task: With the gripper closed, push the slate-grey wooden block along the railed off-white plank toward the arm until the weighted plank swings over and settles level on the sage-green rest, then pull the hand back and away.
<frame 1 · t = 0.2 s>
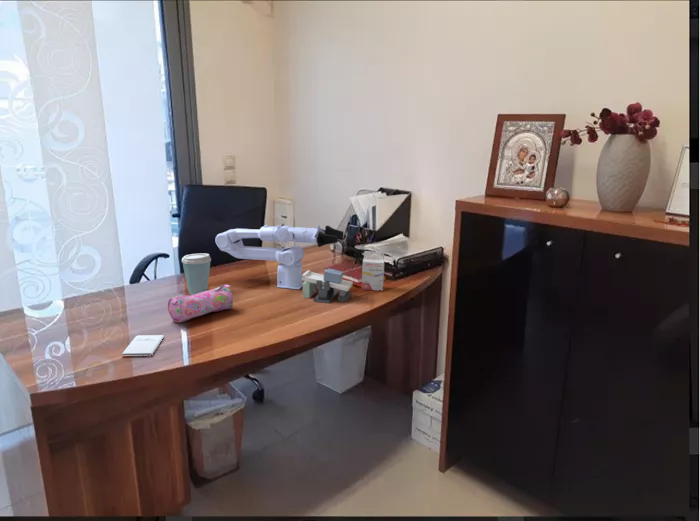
hand: (340, 237, 189), 22 cm above the table, tool horizontal, fingers open, 7 cm apart
ink cartridge box: (372, 288, 198), on the table
disposable coffee cup: (198, 293, 189), on the table
level rest: (309, 294, 190), on the table
pencil case: (203, 315, 168), on the table
tip stop: (344, 298, 186), on the table
stand: (326, 296, 188), on the table
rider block: (332, 281, 186), point 6 cm above the table, tilted 8°, touching plank
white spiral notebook: (144, 349, 144), on the table
plank: (326, 284, 187), point 5 cm above the table, tilted 8°, touching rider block, stand, tip stop
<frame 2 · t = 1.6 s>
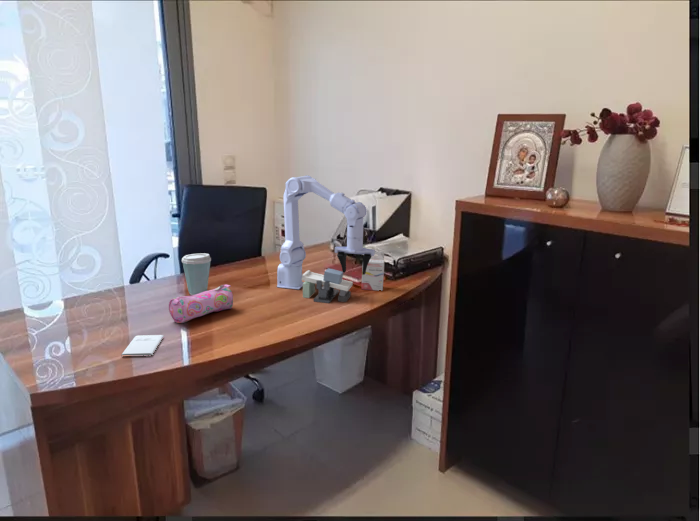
hand: (354, 272, 183), 10 cm above the table, tool pointing down, fingers open, 7 cm apart
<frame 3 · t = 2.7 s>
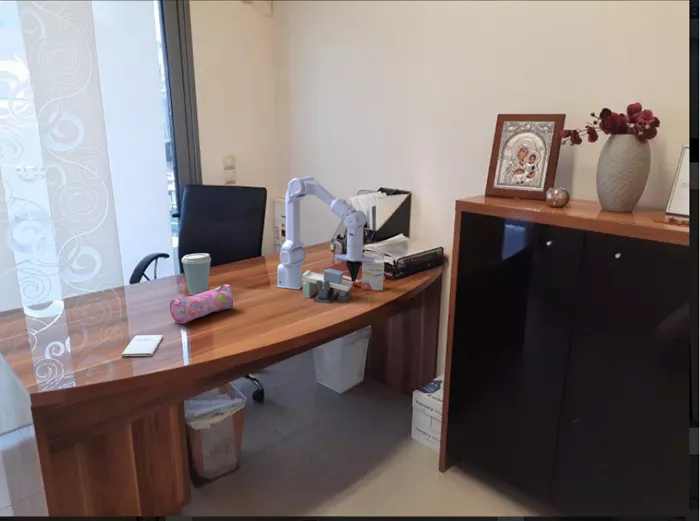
hand: (353, 280, 183), 7 cm above the table, tool pointing down, fingers closed
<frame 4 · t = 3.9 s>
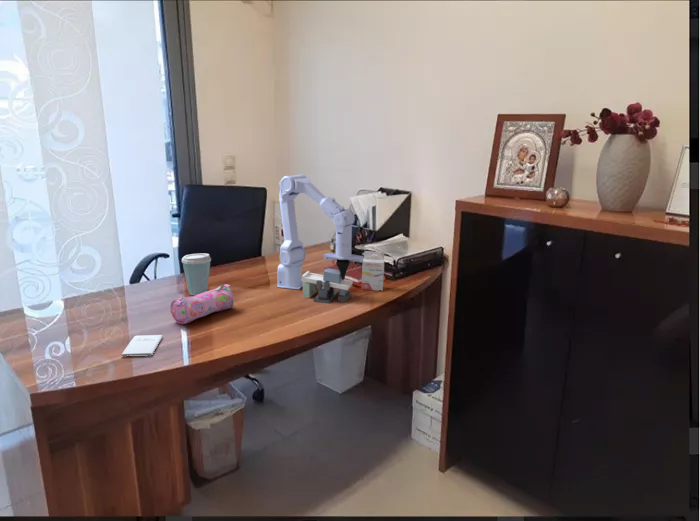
hand: (343, 279, 184), 8 cm above the table, tool pointing down, fingers closed, pressing on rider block
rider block: (332, 281, 186), point 6 cm above the table, tilted 6°, touching gripper, plank
plank: (326, 284, 187), point 5 cm above the table, tilted 6°, touching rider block, stand
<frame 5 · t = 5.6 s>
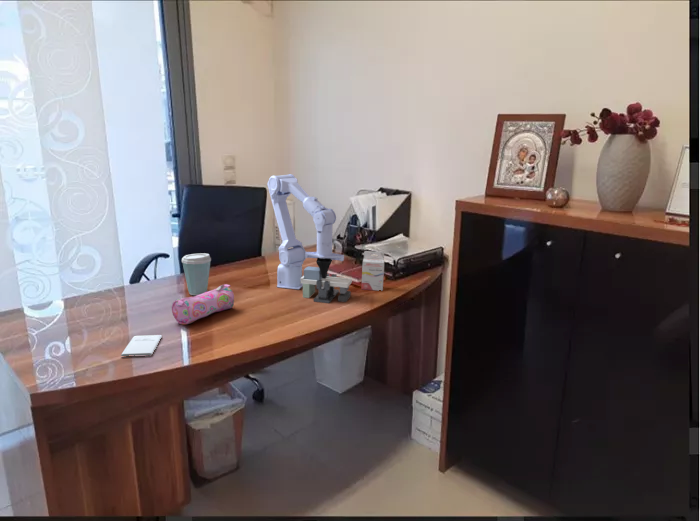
hand: (324, 277, 186), 7 cm above the table, tool pointing down, fingers closed
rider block: (313, 278, 187), point 6 cm above the table, touching gripper, plank
plank: (326, 284, 187), point 5 cm above the table, touching level rest, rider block, stand
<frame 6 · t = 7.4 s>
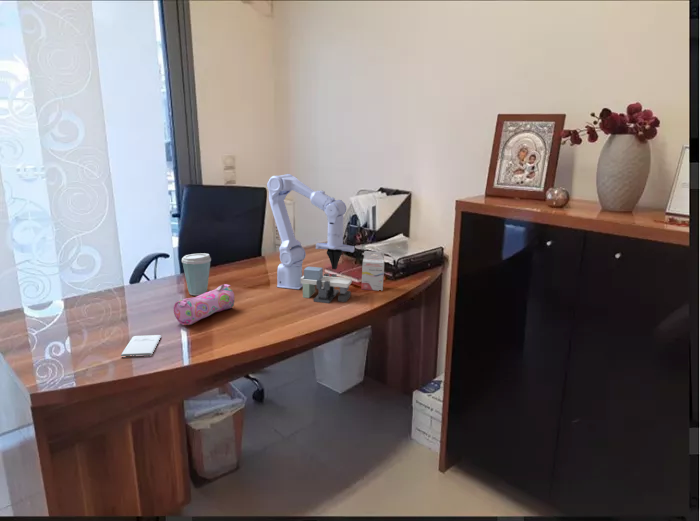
hand: (334, 268, 188), 10 cm above the table, tool pointing down, fingers closed
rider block: (313, 278, 187), point 6 cm above the table, touching plank
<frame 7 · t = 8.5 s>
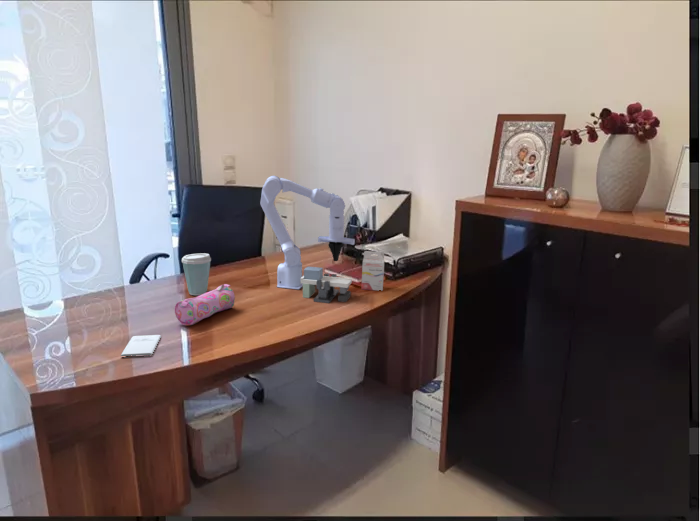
hand: (335, 260, 198), 10 cm above the table, tool pointing down, fingers closed
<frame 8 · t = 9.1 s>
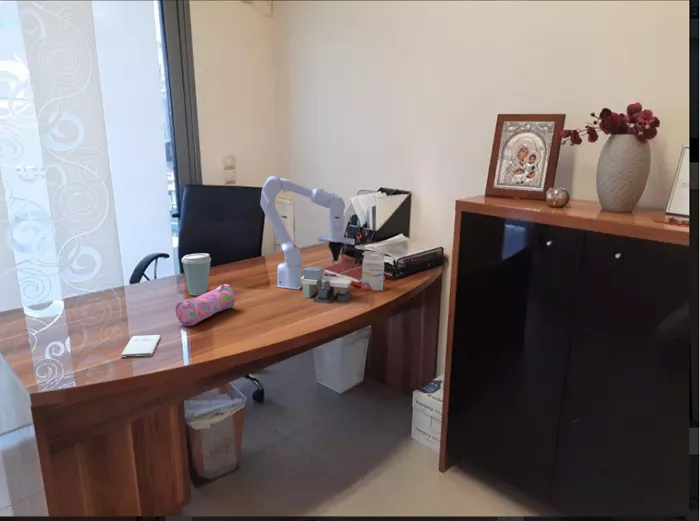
hand: (335, 260, 198), 10 cm above the table, tool pointing down, fingers closed
at the end: plank tilted 0°; plank touching level rest, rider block, stand; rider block 0.3 cm from the target spot on the plank, point 1.5 cm above the plank's base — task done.
